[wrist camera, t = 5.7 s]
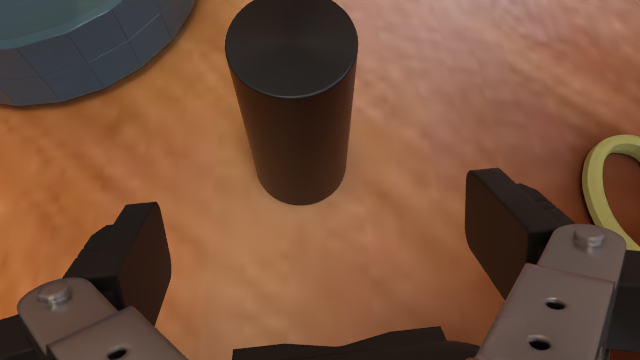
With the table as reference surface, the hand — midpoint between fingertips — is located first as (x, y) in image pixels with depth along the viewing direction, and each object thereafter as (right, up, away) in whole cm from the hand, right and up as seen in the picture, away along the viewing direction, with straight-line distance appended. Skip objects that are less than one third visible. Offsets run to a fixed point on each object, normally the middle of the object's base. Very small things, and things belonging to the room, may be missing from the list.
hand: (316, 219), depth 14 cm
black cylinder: (-1, +2, +15) cm, 15 cm away
